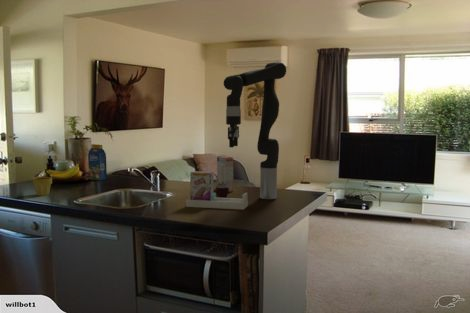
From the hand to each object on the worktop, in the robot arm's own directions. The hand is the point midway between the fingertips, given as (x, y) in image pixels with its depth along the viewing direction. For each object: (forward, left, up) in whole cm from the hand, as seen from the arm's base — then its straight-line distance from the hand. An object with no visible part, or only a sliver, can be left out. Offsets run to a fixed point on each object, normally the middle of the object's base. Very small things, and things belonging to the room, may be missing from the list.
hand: (233, 146), depth 231 cm
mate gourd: (-12, -10, -30) cm, 34 cm away
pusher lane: (+7, -7, -30) cm, 32 cm away
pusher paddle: (+7, -5, -29) cm, 30 cm away
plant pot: (0, -115, -30) cm, 119 cm away
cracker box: (-38, -15, -30) cm, 51 cm away
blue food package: (-58, -114, -30) cm, 131 cm away
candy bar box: (+7, -15, -29) cm, 34 cm away
